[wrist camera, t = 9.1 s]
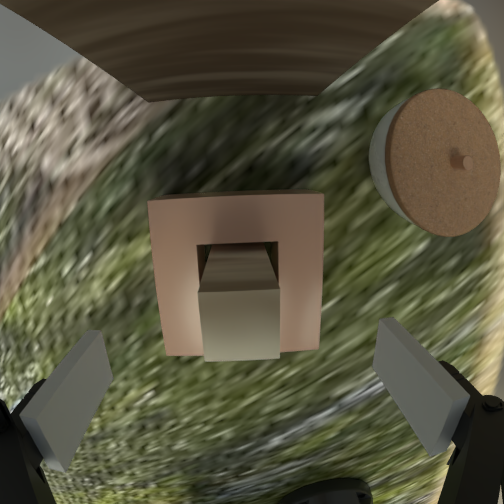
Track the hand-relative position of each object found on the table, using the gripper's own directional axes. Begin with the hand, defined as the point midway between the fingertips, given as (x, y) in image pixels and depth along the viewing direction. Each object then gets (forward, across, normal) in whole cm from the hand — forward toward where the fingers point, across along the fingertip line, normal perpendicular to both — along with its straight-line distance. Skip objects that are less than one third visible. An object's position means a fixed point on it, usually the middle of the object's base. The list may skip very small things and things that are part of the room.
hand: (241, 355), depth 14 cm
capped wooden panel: (+14, 0, -12) cm, 19 cm away
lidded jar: (+14, -15, -9) cm, 23 cm away
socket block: (+14, 0, 0) cm, 14 cm away
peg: (+14, 0, 0) cm, 14 cm away
